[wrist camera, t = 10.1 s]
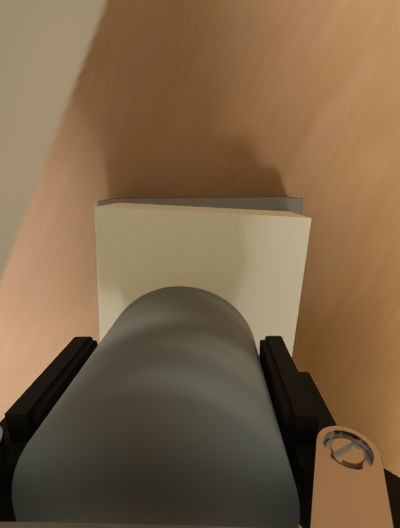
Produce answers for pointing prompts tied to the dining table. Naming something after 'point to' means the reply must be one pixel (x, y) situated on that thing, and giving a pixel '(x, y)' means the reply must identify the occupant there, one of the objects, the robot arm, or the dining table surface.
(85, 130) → the dining table surface
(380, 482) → the robot arm
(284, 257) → the tower top
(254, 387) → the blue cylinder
